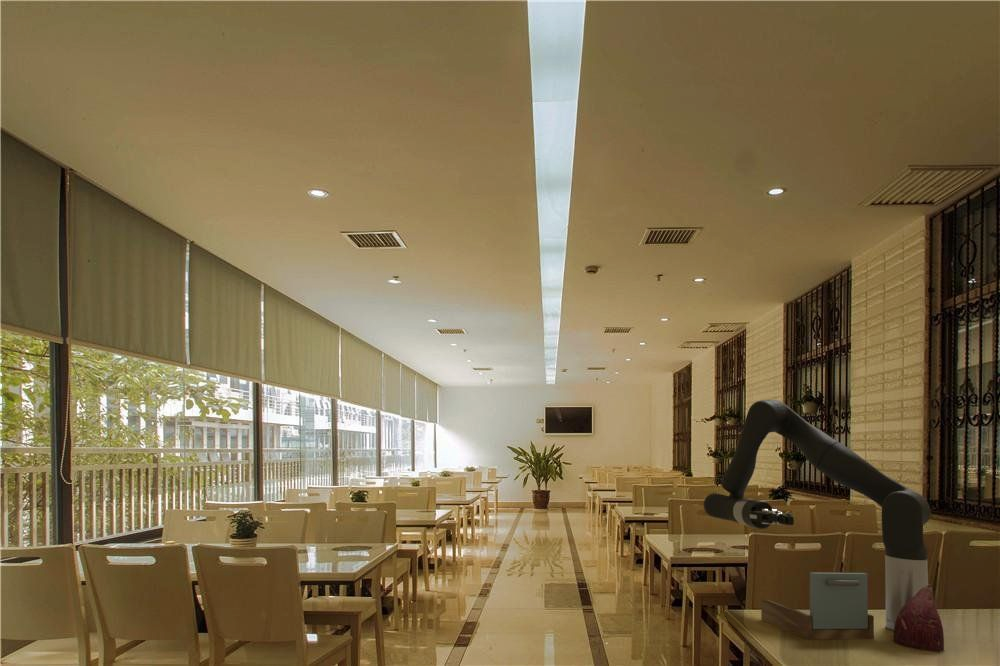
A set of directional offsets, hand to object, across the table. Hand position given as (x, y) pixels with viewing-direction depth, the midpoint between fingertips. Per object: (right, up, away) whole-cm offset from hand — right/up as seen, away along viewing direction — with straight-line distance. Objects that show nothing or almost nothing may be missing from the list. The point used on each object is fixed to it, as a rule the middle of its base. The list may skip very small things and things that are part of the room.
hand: (790, 521), depth 199 cm
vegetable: (+20, -23, -23) cm, 38 cm away
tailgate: (+3, -20, -21) cm, 29 cm away
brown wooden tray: (+1, -23, -13) cm, 26 cm away
